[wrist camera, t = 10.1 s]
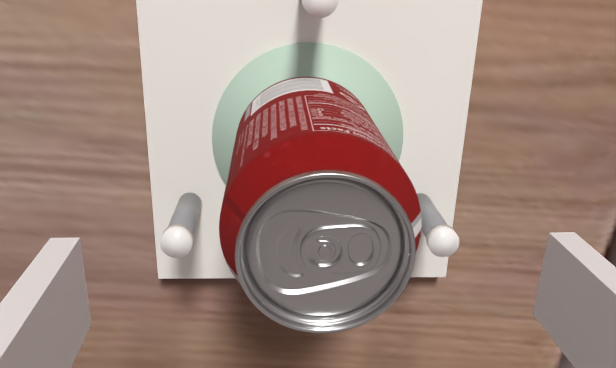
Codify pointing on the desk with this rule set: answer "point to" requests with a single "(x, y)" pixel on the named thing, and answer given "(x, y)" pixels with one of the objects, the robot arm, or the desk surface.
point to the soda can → (317, 209)
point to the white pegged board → (294, 63)
